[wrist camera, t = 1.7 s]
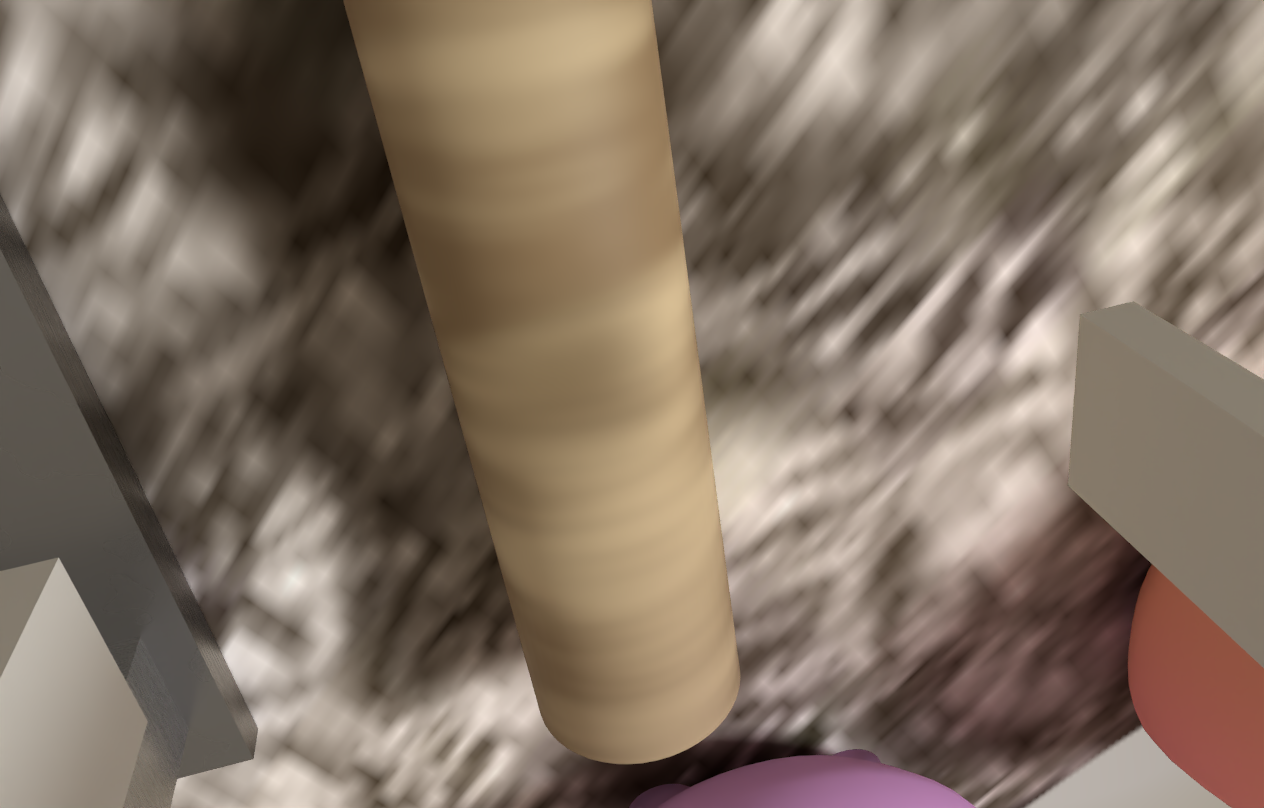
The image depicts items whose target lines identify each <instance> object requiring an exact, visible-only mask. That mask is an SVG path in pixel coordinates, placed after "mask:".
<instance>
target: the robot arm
mask: <svg viewBox="0 0 1264 808" xmlns="http://www.w3.org/2000/svg"><path fill="white" fill-rule="evenodd" d="M1068 486H1069V487H1070V488H1071V489H1072V490H1073V491H1074V492H1075V493H1076V494H1077V495H1079V496H1080V497H1081V498H1082V499H1083V500H1084V501H1085V502H1086V503H1087V504H1088V505H1089V506H1090V507H1091V508H1092V509H1094V510H1095V511H1096V512H1097V513H1098V514H1099V515H1100V516H1101V517H1102V518H1103V519H1104V520H1105V521H1106V522H1108V523H1109V524H1110V525H1111V526H1112V527H1113V528H1114V529H1115V530H1116V531H1117V532H1118V533H1119V534H1120V535H1121V536H1123V537H1124V538H1125V539H1126V540H1127V541H1128V542H1129V543H1130V544H1131V545H1132V546H1133V547H1134V548H1135V549H1136V550H1138V551H1139V552H1140V553H1141V554H1142V555H1143V556H1144V557H1145V558H1146V559H1147V560H1148V561H1149V562H1150V563H1151V564H1153V565H1154V566H1155V567H1156V568H1157V569H1158V570H1159V571H1160V572H1161V573H1162V574H1163V575H1164V576H1165V577H1166V578H1168V579H1169V580H1170V581H1171V582H1172V583H1173V584H1174V585H1175V586H1176V587H1177V588H1178V589H1179V590H1180V591H1181V592H1183V593H1184V594H1185V595H1186V596H1187V597H1188V598H1189V599H1190V600H1191V601H1192V602H1193V603H1194V604H1195V605H1196V606H1198V607H1199V608H1200V609H1201V610H1202V611H1203V612H1204V613H1205V614H1206V615H1207V616H1208V617H1209V618H1210V619H1211V620H1213V621H1214V622H1215V623H1216V624H1217V625H1218V626H1219V627H1220V628H1221V629H1222V630H1223V631H1224V632H1225V633H1226V634H1228V635H1229V636H1230V637H1231V638H1232V639H1233V640H1234V641H1235V642H1236V643H1237V644H1238V645H1239V646H1240V647H1241V648H1243V649H1244V650H1245V651H1246V652H1247V653H1248V654H1249V655H1250V656H1251V657H1252V658H1253V659H1254V660H1255V661H1256V662H1258V663H1259V664H1260V665H1261V666H1262V667H1263V668H1264V380H1263V379H1262V378H1260V377H1258V376H1257V375H1255V374H1253V373H1252V372H1250V371H1248V370H1247V369H1245V368H1243V367H1242V366H1240V365H1238V364H1237V363H1235V362H1233V361H1232V360H1230V359H1228V358H1227V357H1225V356H1223V355H1222V354H1220V353H1218V352H1217V351H1215V350H1213V349H1212V348H1210V347H1208V346H1207V345H1205V344H1203V343H1202V342H1200V341H1198V340H1197V339H1195V338H1193V337H1192V336H1190V335H1188V334H1187V333H1185V332H1183V331H1182V330H1180V329H1178V328H1177V327H1175V326H1173V325H1172V324H1170V323H1168V322H1167V321H1165V320H1163V319H1162V318H1160V317H1158V316H1157V315H1155V314H1153V313H1152V312H1150V311H1148V310H1147V309H1145V308H1143V307H1142V306H1140V305H1138V304H1137V303H1135V302H1129V303H1125V304H1121V305H1117V306H1113V307H1108V308H1104V309H1100V310H1096V311H1092V312H1087V313H1083V314H1080V322H1079V336H1078V350H1077V364H1076V379H1075V393H1074V407H1073V421H1072V435H1071V449H1070V463H1069V477H1068ZM147 722H148V721H147V719H146V717H145V715H144V713H143V711H142V710H141V708H140V706H139V704H138V702H137V700H136V699H135V697H134V695H133V693H132V691H131V689H130V687H129V686H128V684H127V682H126V680H125V678H124V676H123V675H122V673H121V671H120V669H119V667H118V665H117V664H116V662H115V660H114V658H113V656H112V654H111V653H110V651H109V649H108V647H107V645H106V643H105V642H104V640H103V638H102V636H101V634H100V632H99V631H98V629H97V627H96V625H95V623H94V621H93V620H92V618H91V616H90V614H89V612H88V610H87V608H86V607H85V605H84V603H83V601H82V599H81V597H80V596H79V594H78V592H77V590H76V588H75V586H74V585H73V583H72V581H71V579H70V577H69V575H68V574H67V572H66V570H65V568H64V566H63V564H62V563H61V561H60V559H59V557H58V558H54V559H50V560H45V561H41V562H37V563H33V564H29V565H24V566H20V567H16V568H12V569H8V570H3V571H0V808H123V805H124V802H125V799H126V795H127V792H128V788H129V785H130V781H131V778H132V774H133V771H134V767H135V764H136V760H137V757H138V753H139V750H140V746H141V743H142V740H143V736H144V733H145V729H146V726H147Z"/></svg>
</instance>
